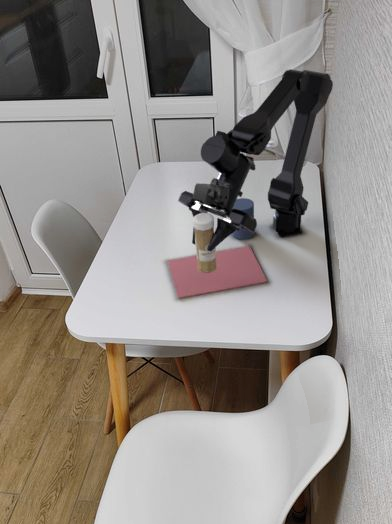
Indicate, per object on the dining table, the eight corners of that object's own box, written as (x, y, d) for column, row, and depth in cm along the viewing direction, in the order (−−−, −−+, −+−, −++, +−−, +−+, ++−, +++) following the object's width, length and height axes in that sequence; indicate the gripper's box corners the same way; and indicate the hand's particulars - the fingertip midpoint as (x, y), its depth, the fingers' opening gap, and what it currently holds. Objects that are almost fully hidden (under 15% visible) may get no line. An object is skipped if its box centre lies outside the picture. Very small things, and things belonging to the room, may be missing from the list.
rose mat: (249, 247, 141) (249, 245, 141) (267, 282, 130) (267, 281, 130) (168, 261, 139) (167, 260, 139) (178, 298, 128) (178, 297, 128)
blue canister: (250, 226, 149) (250, 196, 143) (256, 237, 145) (256, 207, 138) (229, 229, 148) (228, 200, 142) (235, 241, 144) (234, 211, 138)
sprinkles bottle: (207, 276, 122) (203, 225, 113) (193, 269, 125) (188, 218, 115) (221, 267, 125) (218, 216, 115) (207, 260, 127) (202, 209, 118)
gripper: (178, 156, 115) (150, 224, 117) (248, 178, 106) (215, 251, 108) (205, 175, 125) (178, 238, 127) (271, 197, 115) (240, 264, 117)
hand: (201, 247), depth 119 cm, fingers closed on sprinkles bottle, 4 cm apart
